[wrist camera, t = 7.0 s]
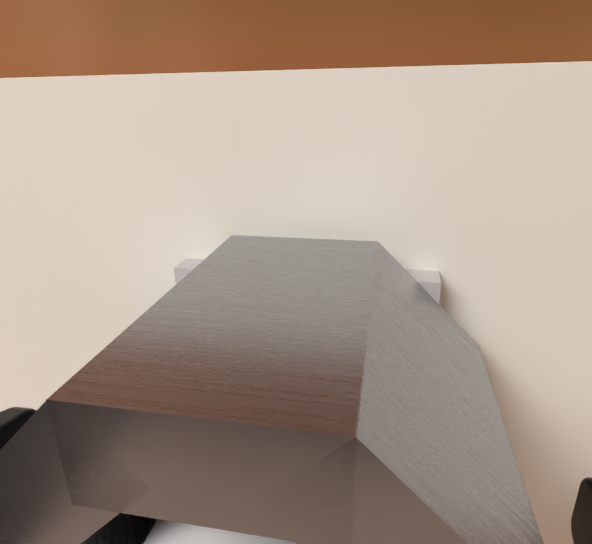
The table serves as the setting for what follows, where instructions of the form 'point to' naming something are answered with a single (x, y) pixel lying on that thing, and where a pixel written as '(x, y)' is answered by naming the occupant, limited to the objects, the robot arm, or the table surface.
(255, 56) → the table surface
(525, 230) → the shaft stand
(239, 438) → the tube
